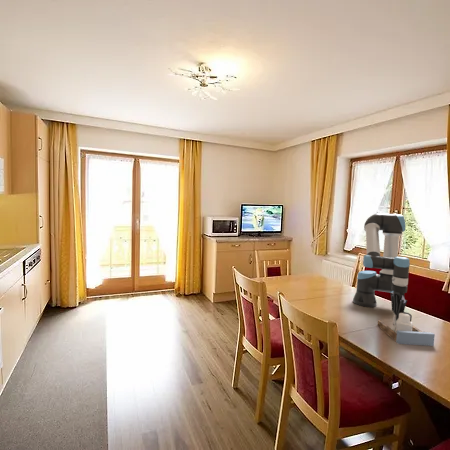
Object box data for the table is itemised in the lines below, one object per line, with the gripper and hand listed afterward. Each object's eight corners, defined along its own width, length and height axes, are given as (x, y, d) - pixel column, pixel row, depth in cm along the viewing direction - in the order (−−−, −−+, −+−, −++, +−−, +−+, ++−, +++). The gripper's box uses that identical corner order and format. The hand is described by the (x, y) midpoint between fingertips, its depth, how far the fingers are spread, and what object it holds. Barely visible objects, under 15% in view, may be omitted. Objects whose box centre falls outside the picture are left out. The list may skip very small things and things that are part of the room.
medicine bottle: (396, 330, 159) (398, 309, 158) (411, 334, 154) (413, 313, 153) (394, 334, 153) (396, 313, 152) (410, 339, 149) (412, 316, 148)
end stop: (396, 341, 145) (397, 330, 144) (430, 344, 144) (432, 332, 143) (398, 343, 143) (399, 332, 142) (433, 345, 142) (434, 334, 141)
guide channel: (377, 325, 165) (377, 320, 165) (407, 327, 164) (408, 322, 164) (396, 341, 145) (396, 336, 145) (430, 344, 144) (431, 338, 144)
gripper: (386, 281, 166) (383, 320, 167) (399, 287, 153) (395, 329, 154) (400, 281, 165) (396, 320, 167) (413, 288, 152) (409, 330, 154)
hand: (396, 325), depth 161 cm, fingers closed
